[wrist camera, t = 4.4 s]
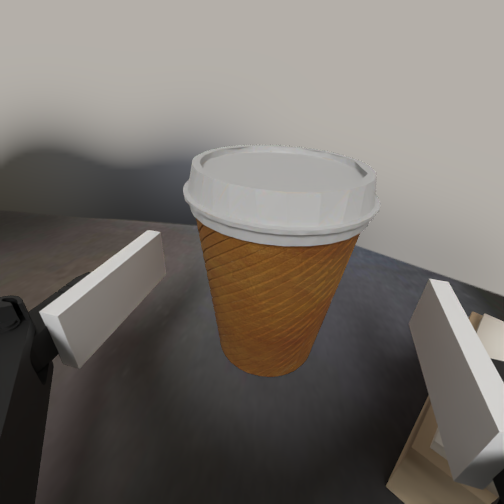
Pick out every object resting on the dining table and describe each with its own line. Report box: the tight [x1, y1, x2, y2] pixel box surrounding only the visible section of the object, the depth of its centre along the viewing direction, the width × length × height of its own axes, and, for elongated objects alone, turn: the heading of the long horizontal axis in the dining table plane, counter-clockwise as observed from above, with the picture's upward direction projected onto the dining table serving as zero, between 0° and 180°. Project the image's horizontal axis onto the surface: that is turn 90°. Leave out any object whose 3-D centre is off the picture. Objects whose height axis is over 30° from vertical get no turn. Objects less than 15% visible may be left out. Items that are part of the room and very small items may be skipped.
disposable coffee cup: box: [183, 145, 381, 377], centre depth 17 cm, size 10×10×12 cm
